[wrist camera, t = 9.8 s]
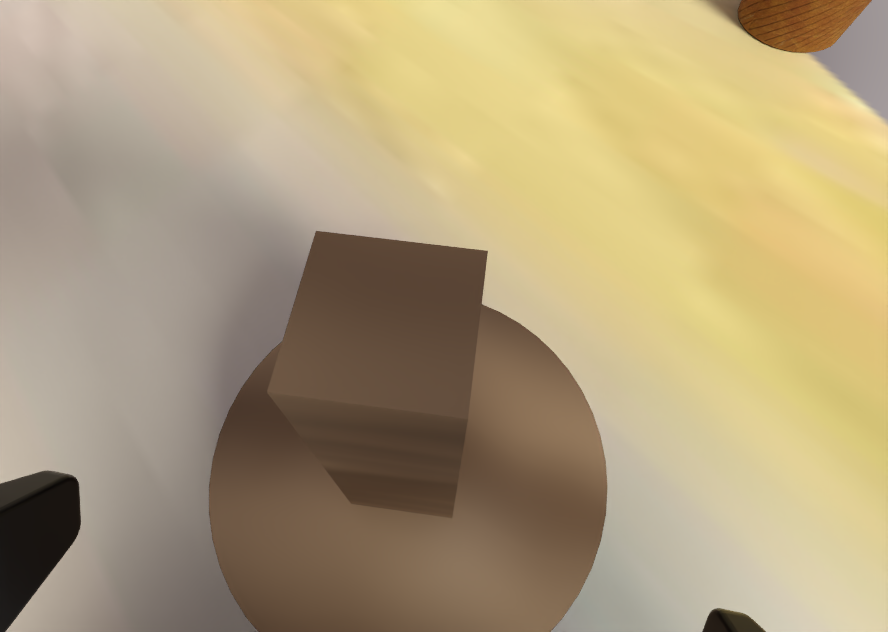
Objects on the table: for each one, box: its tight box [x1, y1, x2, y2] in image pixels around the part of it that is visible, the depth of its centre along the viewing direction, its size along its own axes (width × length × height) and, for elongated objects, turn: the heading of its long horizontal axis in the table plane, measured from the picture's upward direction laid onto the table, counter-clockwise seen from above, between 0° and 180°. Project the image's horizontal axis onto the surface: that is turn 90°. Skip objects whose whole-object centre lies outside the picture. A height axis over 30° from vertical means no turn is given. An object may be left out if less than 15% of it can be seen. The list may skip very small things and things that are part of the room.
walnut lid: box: [209, 231, 607, 632], centre depth 13 cm, size 12×12×10 cm
